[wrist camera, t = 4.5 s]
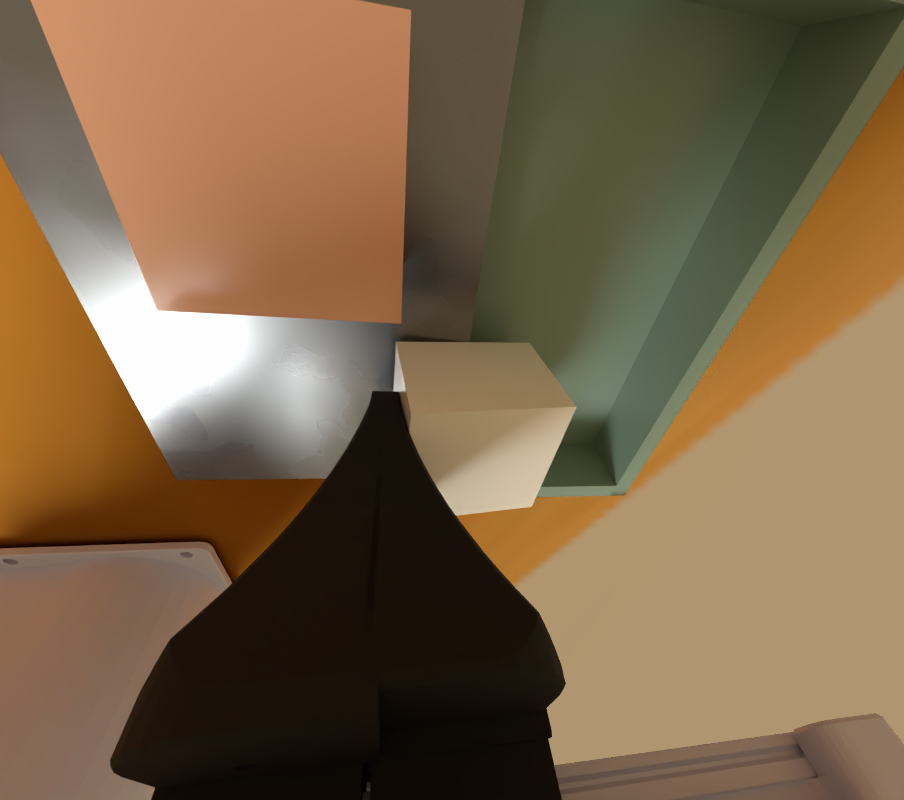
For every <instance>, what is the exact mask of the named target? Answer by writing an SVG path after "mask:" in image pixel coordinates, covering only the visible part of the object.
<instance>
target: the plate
mask: <svg viewBox="0 0 904 800" xmlns="http://www.w3.org/2000/svg"><path fill="white" fill-rule="evenodd" d="M360 1H365V2H371V3H376V4H382V5H387V6H392V7H398V8H403V9H409V10H411V30H410V61H409V93H408V124H407V155H406V186H405V218H404V249H403V280H402V311H401V324H398V323H379V322H360V321H342V320H323V319H304V318H285V317H267V316H248V315H229V314H210V313H192V312H173V311H157V308H156V306H155V304H154V301H153V299H152V296H151V294H150V291H149V289H148V286H147V284H146V282H145V279H144V277H143V274H142V272H141V269H140V267H139V264H138V262H137V259H136V257H135V255H134V252H133V250H132V247H131V245H130V242H129V240H128V237H127V235H126V233H125V230H124V228H123V225H122V223H121V220H120V218H119V215H118V213H117V211H116V208H115V206H114V203H113V201H112V198H111V196H110V193H109V191H108V188H107V186H106V184H105V181H104V179H103V176H102V174H101V171H100V169H99V166H98V164H97V162H96V159H95V157H94V154H93V152H92V149H91V147H90V144H89V142H88V140H87V137H86V135H85V132H84V130H83V127H82V125H81V122H80V120H79V117H78V115H77V113H76V110H75V108H74V105H73V103H72V100H71V98H70V95H69V93H68V91H67V88H66V86H65V83H64V81H63V78H62V76H61V73H60V71H59V69H58V66H57V64H56V61H55V59H54V56H53V54H52V51H51V49H50V47H49V44H48V42H47V39H46V37H45V34H44V32H43V29H42V27H41V24H40V22H39V20H38V17H37V15H36V12H35V10H34V7H33V5H32V2H31V0H0V153H1V155H2V157H3V159H4V161H5V163H6V165H7V166H8V168H9V170H10V172H11V174H12V176H13V178H14V179H15V181H16V183H17V185H18V187H19V189H20V191H21V192H22V194H23V196H24V198H25V200H26V202H27V204H28V205H29V207H30V209H31V211H32V213H33V215H34V217H35V218H36V220H37V222H38V224H39V226H40V228H41V230H42V231H43V233H44V235H45V237H46V239H47V241H48V243H49V244H50V246H51V248H52V250H53V252H54V254H55V256H56V257H57V259H58V261H59V263H60V265H61V267H62V269H63V270H64V272H65V274H66V276H67V278H68V280H69V281H70V283H71V285H72V287H73V289H74V291H75V293H76V294H77V296H78V298H79V300H80V302H81V304H82V306H83V307H84V309H85V311H86V313H87V315H88V317H89V319H90V320H91V322H92V324H93V326H94V328H95V330H96V332H97V333H98V335H99V337H100V339H101V341H102V343H103V345H104V346H105V348H106V350H107V352H108V354H109V356H110V358H111V359H112V361H113V363H114V365H115V367H116V369H117V371H118V372H119V374H120V376H121V378H122V380H123V382H124V384H125V385H126V387H127V389H128V391H129V393H130V395H131V397H132V398H133V400H134V402H135V404H136V406H137V408H138V410H139V411H140V413H141V415H142V417H143V419H144V421H145V423H146V424H147V426H148V428H149V430H150V432H151V434H152V436H153V437H154V439H155V441H156V443H157V445H158V447H159V449H160V450H161V452H162V454H163V456H164V458H165V460H166V462H167V463H168V465H169V467H170V469H171V471H172V473H173V475H174V476H175V478H176V480H237V479H326V478H327V477H328V475H329V474H330V473H331V471H332V470H333V468H334V467H335V465H336V464H337V462H338V461H339V459H340V457H341V456H342V454H343V453H344V451H345V450H346V448H347V447H348V445H349V443H350V441H351V440H352V438H353V436H354V434H355V432H356V431H357V429H358V427H359V425H360V423H361V421H362V419H363V417H364V415H365V413H366V410H367V408H368V406H369V403H370V400H371V395H372V391H393V389H394V370H395V350H396V342H469V340H470V334H471V328H472V322H473V316H474V310H475V304H476V297H477V291H478V285H479V279H480V273H481V267H482V261H483V255H484V249H485V242H486V236H487V230H488V224H489V218H490V212H491V206H492V200H493V193H494V187H495V181H496V175H497V169H498V163H499V157H500V151H501V145H502V138H503V132H504V126H505V120H506V114H507V108H508V102H509V96H510V89H511V83H512V77H513V71H514V65H515V59H516V53H517V47H518V41H519V34H520V28H521V22H522V16H523V10H524V4H525V0H360Z"/></svg>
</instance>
